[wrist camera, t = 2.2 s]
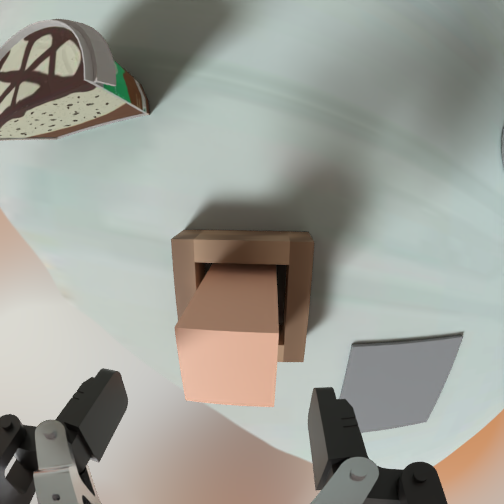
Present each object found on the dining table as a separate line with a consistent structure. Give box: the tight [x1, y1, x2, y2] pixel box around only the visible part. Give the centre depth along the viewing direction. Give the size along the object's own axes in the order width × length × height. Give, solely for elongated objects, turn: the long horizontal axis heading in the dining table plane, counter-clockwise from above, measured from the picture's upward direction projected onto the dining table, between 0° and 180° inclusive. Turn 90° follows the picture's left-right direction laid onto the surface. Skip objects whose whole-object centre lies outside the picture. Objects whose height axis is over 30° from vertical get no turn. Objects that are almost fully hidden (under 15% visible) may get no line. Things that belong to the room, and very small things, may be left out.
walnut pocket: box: [171, 230, 314, 362], centre depth 21 cm, size 9×9×3 cm
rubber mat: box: [339, 335, 463, 433], centre depth 24 cm, size 12×12×1 cm
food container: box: [0, 19, 150, 141], centre depth 14 cm, size 12×6×10 cm, turn 94°
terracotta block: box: [175, 263, 279, 407], centre depth 18 cm, size 4×4×10 cm
